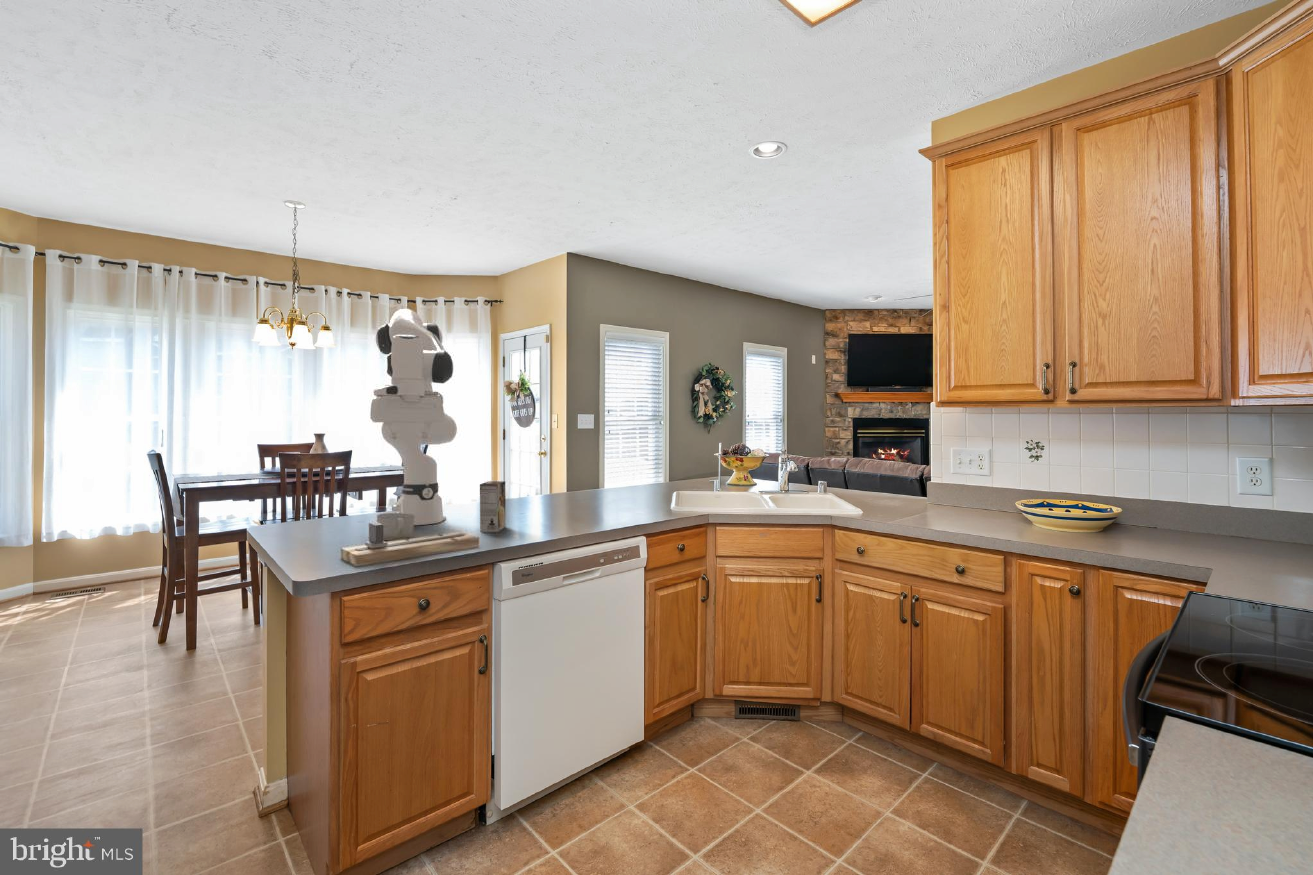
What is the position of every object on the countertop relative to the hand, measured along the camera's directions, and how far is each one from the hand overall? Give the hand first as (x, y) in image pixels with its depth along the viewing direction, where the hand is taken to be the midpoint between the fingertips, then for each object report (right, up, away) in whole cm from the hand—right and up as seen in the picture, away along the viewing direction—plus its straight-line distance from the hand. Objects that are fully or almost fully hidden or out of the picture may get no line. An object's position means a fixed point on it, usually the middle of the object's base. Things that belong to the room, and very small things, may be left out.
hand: (409, 438), depth 173 cm
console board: (+2, -32, -3) cm, 32 cm away
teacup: (-9, -32, +13) cm, 36 cm away
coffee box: (+15, -31, +32) cm, 47 cm away
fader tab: (-5, -29, -11) cm, 31 cm away
